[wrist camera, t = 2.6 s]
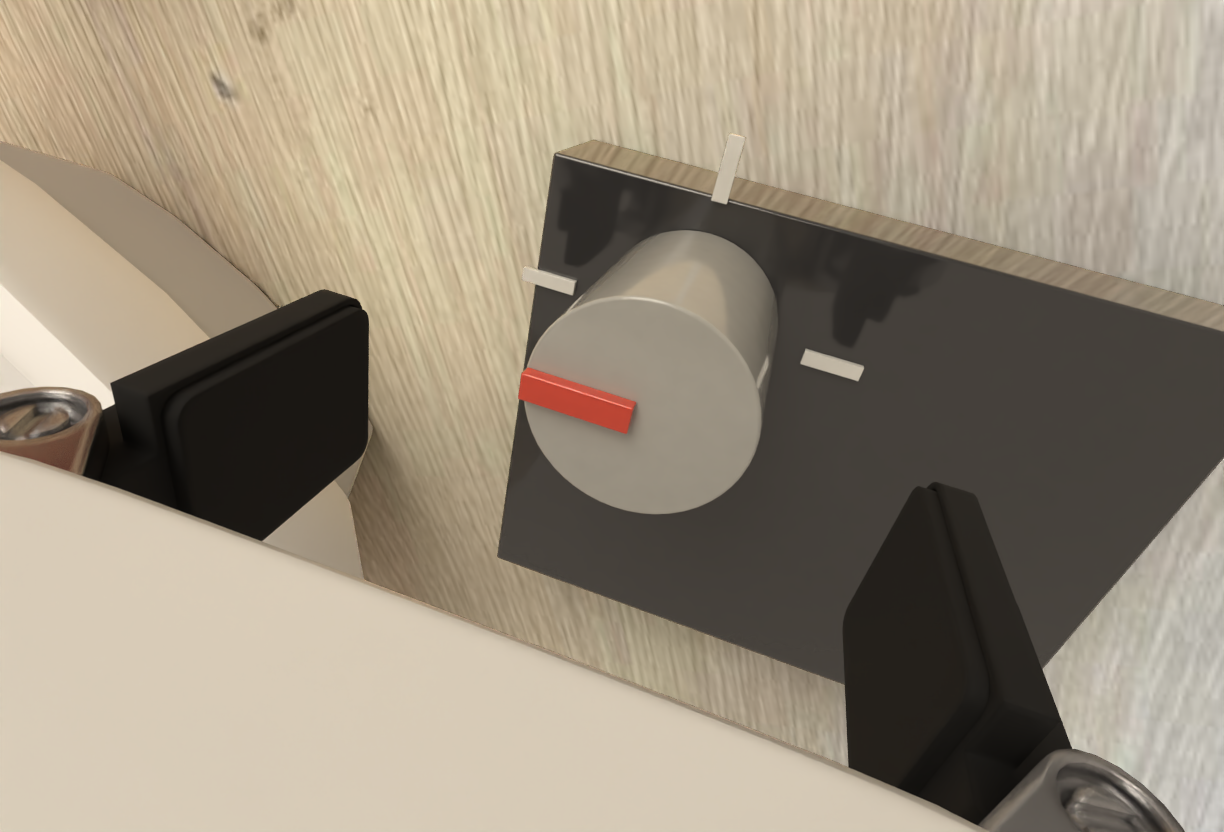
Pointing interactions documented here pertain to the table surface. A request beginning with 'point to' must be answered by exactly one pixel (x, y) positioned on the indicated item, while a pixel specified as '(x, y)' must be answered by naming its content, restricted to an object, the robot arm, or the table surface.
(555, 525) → the dark grey knob base
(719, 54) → the table surface
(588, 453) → the hob knob
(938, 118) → the table surface
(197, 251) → the bowl
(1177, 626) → the table surface
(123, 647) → the robot arm
